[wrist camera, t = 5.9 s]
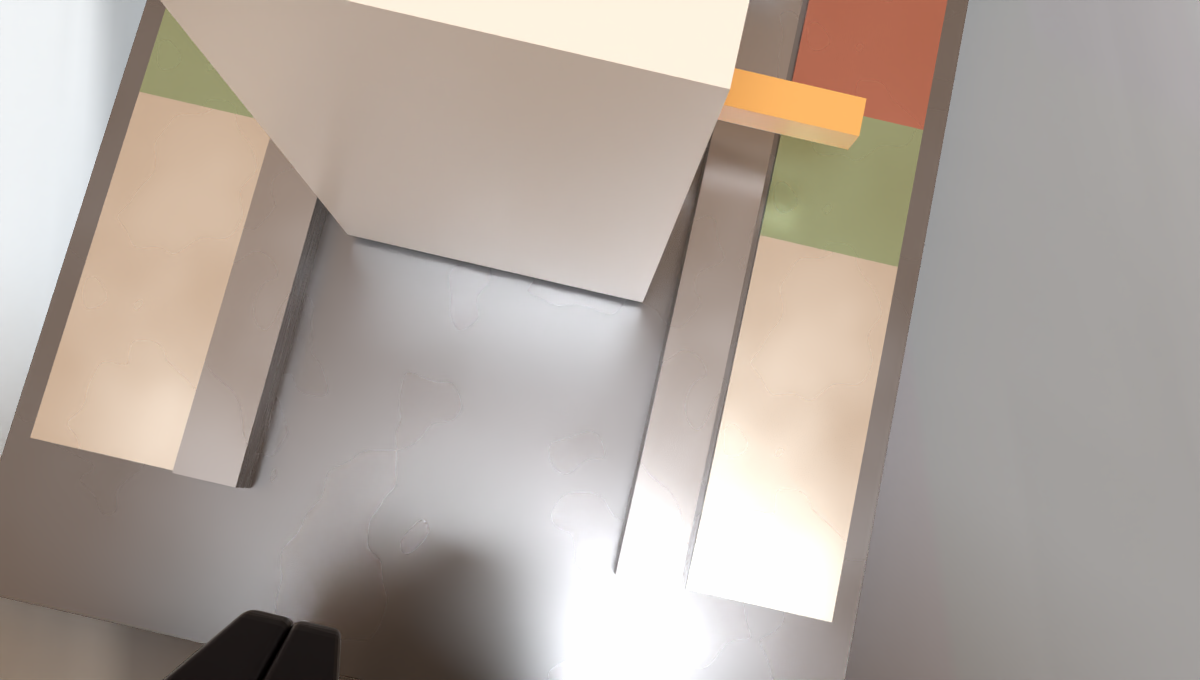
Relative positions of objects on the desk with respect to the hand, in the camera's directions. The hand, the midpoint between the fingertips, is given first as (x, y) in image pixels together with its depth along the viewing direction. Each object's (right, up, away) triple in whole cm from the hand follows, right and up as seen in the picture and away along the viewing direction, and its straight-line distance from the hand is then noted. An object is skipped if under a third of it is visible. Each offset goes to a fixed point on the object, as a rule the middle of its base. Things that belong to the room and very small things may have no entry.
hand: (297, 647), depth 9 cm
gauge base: (+1, +6, +10) cm, 11 cm away
